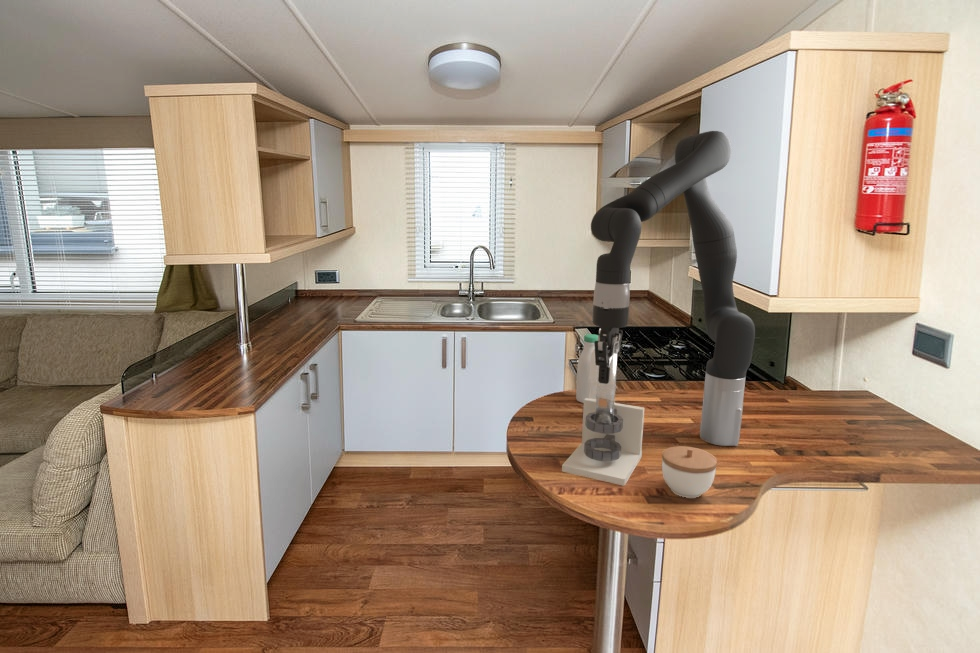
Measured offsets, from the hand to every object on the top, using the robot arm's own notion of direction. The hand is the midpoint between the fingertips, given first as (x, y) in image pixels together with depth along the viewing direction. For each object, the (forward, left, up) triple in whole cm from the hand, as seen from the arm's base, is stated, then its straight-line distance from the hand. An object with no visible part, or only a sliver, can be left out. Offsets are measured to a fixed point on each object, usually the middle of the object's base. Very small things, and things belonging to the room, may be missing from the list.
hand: (606, 379), depth 129 cm
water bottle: (+9, -29, -21) cm, 37 cm away
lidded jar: (-19, +3, -21) cm, 28 cm away
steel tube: (0, 0, -12) cm, 12 cm away
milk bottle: (+16, -41, -21) cm, 49 cm away
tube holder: (0, 0, -20) cm, 20 cm away
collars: (0, -1, -17) cm, 17 cm away
